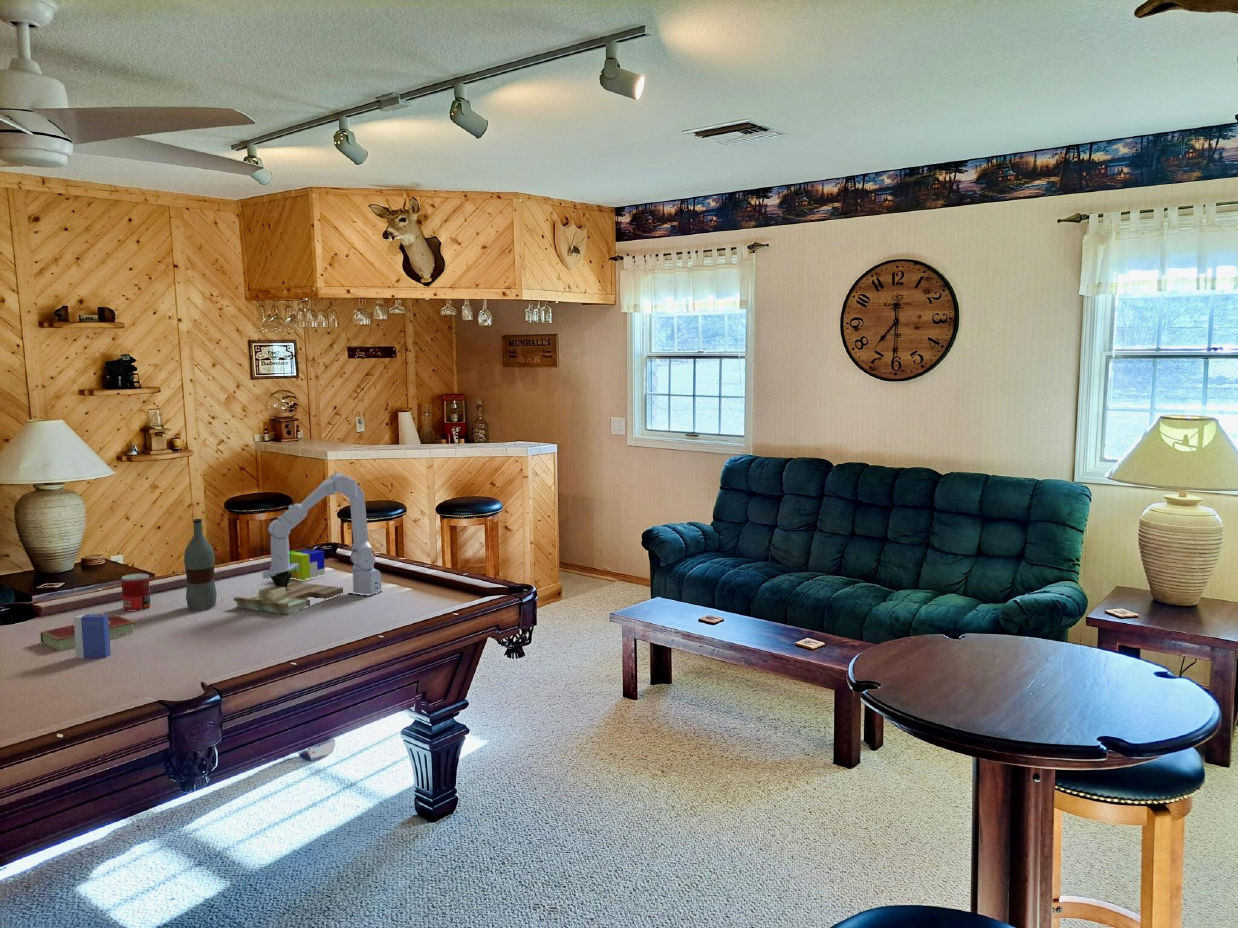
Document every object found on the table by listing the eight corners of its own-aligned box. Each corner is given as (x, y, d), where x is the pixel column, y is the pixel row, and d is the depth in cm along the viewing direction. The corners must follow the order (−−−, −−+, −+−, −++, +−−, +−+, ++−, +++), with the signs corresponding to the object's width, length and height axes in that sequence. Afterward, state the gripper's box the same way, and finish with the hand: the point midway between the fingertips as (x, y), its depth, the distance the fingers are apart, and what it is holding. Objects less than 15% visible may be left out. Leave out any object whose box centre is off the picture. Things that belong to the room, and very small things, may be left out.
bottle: (222, 603, 289) (218, 517, 286) (207, 611, 280) (202, 522, 277) (196, 603, 290) (192, 516, 287) (180, 610, 281) (175, 521, 278)
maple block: (286, 599, 286) (285, 587, 286) (273, 603, 281) (272, 591, 280) (272, 597, 289) (271, 585, 288) (258, 601, 283) (258, 589, 283)
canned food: (148, 610, 281) (147, 577, 280) (121, 612, 278) (119, 579, 277) (152, 604, 288) (150, 572, 287) (125, 606, 286) (123, 574, 284)
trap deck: (343, 594, 302) (342, 584, 301) (286, 615, 276) (285, 604, 276) (294, 588, 310) (293, 578, 309) (234, 608, 284) (233, 597, 283)
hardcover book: (41, 644, 247) (40, 630, 247) (117, 627, 264) (116, 614, 264) (58, 652, 240) (57, 638, 240) (136, 634, 257) (135, 620, 257)
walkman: (110, 654, 238) (108, 612, 237) (105, 657, 235) (103, 615, 234) (81, 655, 237) (78, 613, 236) (75, 658, 235) (73, 616, 233)
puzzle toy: (324, 576, 328) (323, 551, 327) (302, 581, 320) (302, 555, 319) (307, 573, 333) (307, 548, 332) (286, 578, 325) (285, 552, 324)
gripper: (286, 550, 296) (287, 588, 297) (254, 558, 282) (256, 598, 284) (302, 551, 293) (304, 590, 295) (271, 560, 280) (273, 600, 281)
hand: (281, 594), depth 289 cm, fingers closed
